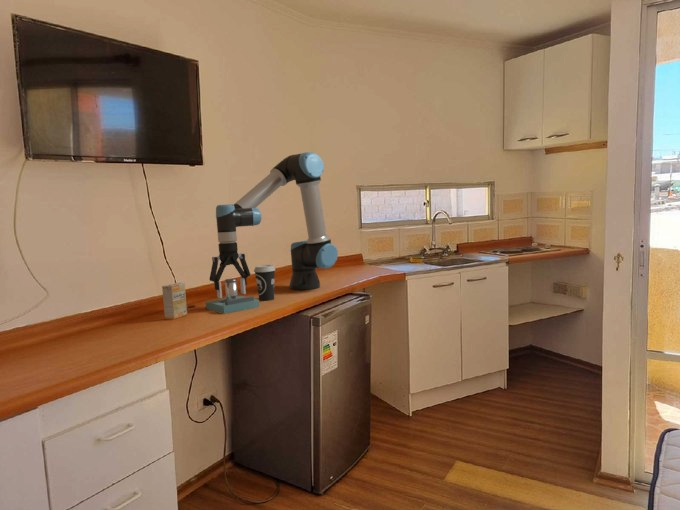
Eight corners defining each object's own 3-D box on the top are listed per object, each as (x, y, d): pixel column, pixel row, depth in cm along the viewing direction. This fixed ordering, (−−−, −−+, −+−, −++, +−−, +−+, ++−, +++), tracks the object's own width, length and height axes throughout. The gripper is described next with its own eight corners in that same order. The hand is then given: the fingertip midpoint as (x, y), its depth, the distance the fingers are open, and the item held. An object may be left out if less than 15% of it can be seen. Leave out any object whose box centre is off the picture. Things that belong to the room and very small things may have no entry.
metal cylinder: (235, 306, 220) (233, 278, 218) (240, 307, 216) (238, 279, 215) (225, 308, 217) (222, 279, 215) (230, 309, 213) (228, 280, 212)
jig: (240, 302, 228) (239, 292, 227) (259, 306, 215) (258, 295, 215) (206, 308, 217) (205, 298, 217) (224, 313, 205) (223, 302, 205)
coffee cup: (273, 301, 226) (271, 267, 224) (252, 301, 228) (250, 267, 226) (280, 297, 235) (278, 264, 234) (260, 297, 237) (258, 264, 236)
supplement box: (174, 319, 199) (171, 286, 198) (164, 319, 201) (161, 285, 200) (188, 314, 207) (185, 282, 206) (178, 314, 209) (175, 282, 207)
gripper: (247, 239, 224) (251, 290, 226) (197, 244, 209) (202, 299, 211) (256, 240, 218) (260, 292, 220) (205, 245, 203) (210, 301, 206)
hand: (231, 295), depth 216 cm, fingers open, 10 cm apart
